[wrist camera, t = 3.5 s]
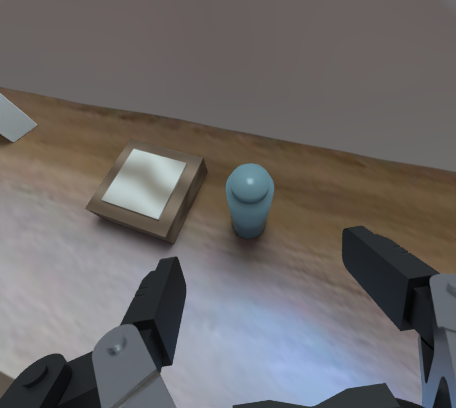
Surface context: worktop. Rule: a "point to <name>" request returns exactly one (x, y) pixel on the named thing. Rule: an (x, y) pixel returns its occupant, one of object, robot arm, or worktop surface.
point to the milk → (13, 121)
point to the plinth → (150, 189)
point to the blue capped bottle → (249, 199)
